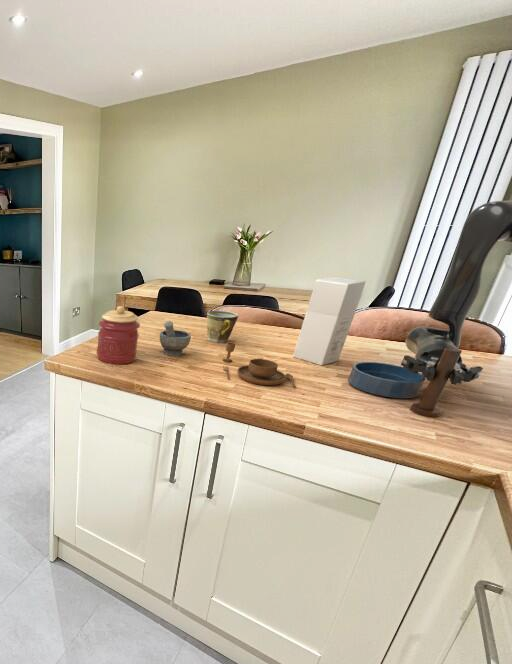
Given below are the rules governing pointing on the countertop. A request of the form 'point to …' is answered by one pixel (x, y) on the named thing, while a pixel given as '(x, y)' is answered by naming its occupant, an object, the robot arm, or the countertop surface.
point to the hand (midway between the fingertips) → (443, 378)
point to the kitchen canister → (118, 336)
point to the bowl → (386, 380)
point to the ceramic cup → (220, 325)
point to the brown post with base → (437, 384)
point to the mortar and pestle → (173, 340)
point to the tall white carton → (328, 319)
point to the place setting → (258, 370)
